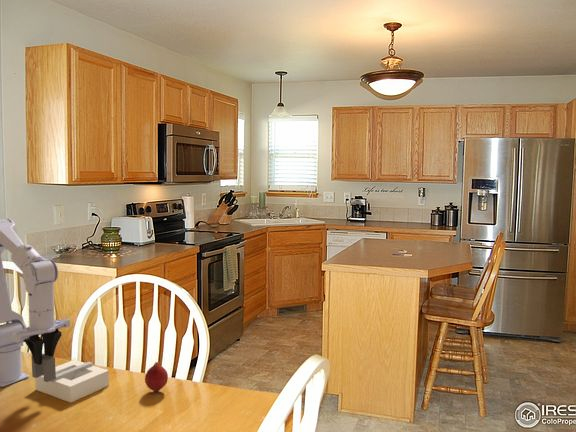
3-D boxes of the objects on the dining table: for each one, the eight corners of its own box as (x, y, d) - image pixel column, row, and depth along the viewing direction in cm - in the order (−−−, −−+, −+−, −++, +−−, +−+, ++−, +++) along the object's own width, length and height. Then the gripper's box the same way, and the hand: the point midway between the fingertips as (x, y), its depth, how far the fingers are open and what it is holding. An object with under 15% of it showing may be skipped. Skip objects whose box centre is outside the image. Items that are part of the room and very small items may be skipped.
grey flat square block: (32, 376, 134) (31, 355, 133) (41, 373, 136) (40, 352, 135) (47, 382, 131) (46, 360, 130) (55, 378, 133) (55, 357, 132)
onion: (162, 397, 136) (161, 367, 135) (141, 395, 137) (140, 365, 136) (171, 388, 142) (171, 359, 141) (151, 385, 143) (151, 357, 142)
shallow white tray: (35, 389, 139) (35, 371, 139) (74, 374, 150) (74, 357, 149) (70, 402, 132) (70, 383, 132) (109, 385, 143) (108, 367, 142)
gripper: (23, 319, 123) (26, 375, 125) (77, 304, 135) (78, 356, 137) (6, 314, 127) (8, 368, 128) (59, 300, 139) (61, 350, 141)
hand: (43, 361), depth 133 cm, fingers closed on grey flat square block, 2 cm apart
